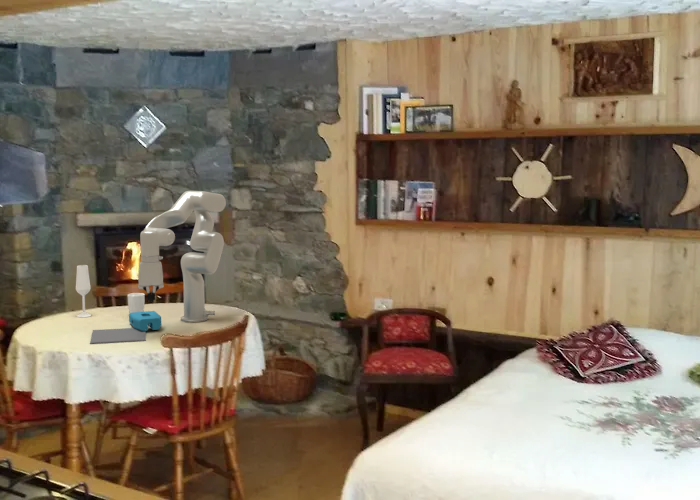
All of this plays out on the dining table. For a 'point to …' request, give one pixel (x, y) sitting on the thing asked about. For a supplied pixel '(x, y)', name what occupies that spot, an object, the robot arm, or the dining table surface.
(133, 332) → the gray square mat
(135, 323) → the block
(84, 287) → the champagne flute
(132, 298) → the white cup
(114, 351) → the dining table surface
